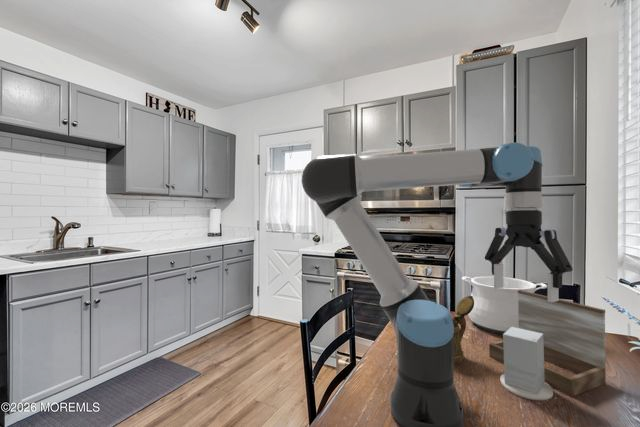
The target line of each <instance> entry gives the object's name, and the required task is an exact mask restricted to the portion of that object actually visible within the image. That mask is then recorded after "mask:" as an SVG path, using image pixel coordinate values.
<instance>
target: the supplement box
mask: <svg viewBox="0 0 640 427" xmlns="http://www.w3.org/2000/svg"><path fill="white" fill-rule="evenodd" d="M502 338H503V339H502V340H503V343H504V363H503V374H504V379H505V384H509V385H511V386H514V387H517V388H520V389H523V390H526V391H529V392H532V393H534V394H537V395H538V394H539V392H540V391H541V389H542V387H543V385H544V383H545V379H544V366H545V360H544V341H543V334H542V333H538V332H533V331H529V330H524V329H520V328H515V327H511V328H510V329H509V330H507V331H506V332H505V333H504V334H502Z"/></svg>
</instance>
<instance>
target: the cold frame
mask: <svg viewBox="0 0 640 427" xmlns="http://www.w3.org/2000/svg"><path fill="white" fill-rule="evenodd" d="M518 321H519V328H520V329H524V330H529V331H533V332H538V333H542V334H543V341H544V361H546V362H549V363H550V364H554V365H556V366H558V367H561V368H563V369H566V370H568V371H570V372H572V373H575V374H574V375H572V376H569V375H567V374H564V373H561V372H559V371H556V370H555V369H552V368H550V367H547V366H545V365H544V379H545V382H546V383H547V384H549V385H550V386H551V388H552V389H555V390H557V391H558V392H561V393H563V394H566V395H568V396H569V397H575V396H577V395H580V394H583V393H585V392H588V391H591V390H593V389H596V388H597V387H601V386H602V385H605V384H607V383H606V380H607V378H606V377H607V376H606V375H607V373H606V309H603V308H599V307H595V306H590V305H586V304H582V303H577V302H572V301H569V300H564V299H560V298H559V301H556V302H548V295H543V294H539V293H535V292H534V293H531V292H526V291H522V290H518ZM488 348H489V350H488V351H489V358H491V359H493V360H496V361H497V362H500V363H502V364H504V343H503V339H502V340H499V341H495V342H490V343H489V345H488Z"/></svg>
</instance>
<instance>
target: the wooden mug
mask: <svg viewBox="0 0 640 427" xmlns="http://www.w3.org/2000/svg"><path fill="white" fill-rule="evenodd" d="M473 307H474V299H473V297H472V296H471V295H467V296H465V297H463V298H462V299H460V300H459V302H458V303H457V306H456V314H455V315H454V316H453V317H452V319H453V325H454V335H453V357H454V364H457V363H461V362H462V361H464V359H465V355H464V351H463V349H462V338H464V337H463V336H464V334H465V332H466V328H467V321H466V318H465V316H469V315H468V314H469V313H470V312H471V311H472V309H473Z"/></svg>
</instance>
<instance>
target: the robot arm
mask: <svg viewBox="0 0 640 427" xmlns="http://www.w3.org/2000/svg"><path fill="white" fill-rule="evenodd" d="M542 158H543V157H542V152H541V149H540V148H539V146H538V147H537V146H533V145H532V146H531V145H527V146H526V145H525V144H523V143H520V142H510V143H504V144H502V145H500V146H496V147H494V146H493V147H485V148H483V147H482V148H471V149H470V148H469V149H461V150H447V151H435V152H432V151H431V152H422V153H421V152H420V153H409V154H397V155H386V156H373V157H372V156H371V157H360V156H359V155H358V154H357V153H353V154H335V155H332V154H331V155H320V156H318V157H315V158H314V159H312V160H310V161H309V162H308V163H307V164H306V165H305V167H304V168H303V171H302V174H301V185H302V188H303V191H304V192H305V194H306V195H307V196H308V198H310V199H311V200H312V201H314V202H315V203H316V205H317V206H318V208H319V209H320V211H321V212H322V214H323V216H324V217H325V218H326V219H328V220H332V221H334V223H335V224H336V226H337V227H338V230H340V233H341V234H342V235H343V237H344V239H345V240H346V242H347V243H348V245H349V246H350V247H349V248H351V250H352V251H353V253H354V255H355V256H356V258H357V260H358V262H360V264H361V266H362V268H364V271H365V272H366V274H367V275H368V276H369V278H370V280H371V282H372V283H373V285H374V286H375V288H376V290H377V291H378V293H379V295H380V300H379V305H380V307H381V308H382V311H384V313H385V315H386V316H387V318H388V319H389V321H390V323H391V324H392V327H393V329H394V333H395V338H396V342H397V345H396V346H397V376H396V379H395V383H394V385H393V390H392V392H391V395H390V400H389V401H390V402H389V403H390V404H389V405H390V407H389V410H390V413H391V416H392V417H393V419H394V420H395V422H397V424H398V425H400V426H401V427H464V410H463V405H462V403H461V402H460V397H459V394H458V391H457V388H456V386H455V380H454V379H455V376H454V374H455V373H454V372H455V370H454V364H455V363H454V357H453V335H454V325H453V316H452V313H451V311H450V310H449V309H448V308H446V307H445V306H444V305H443V304H441V303H439V304H438V303H436V302H435V301H431V300H430V299H429V298H428V295H427V294H426V293H425V291H424V290H423V288H422V286H420V284H419V282H418V281H416V280H414V279H410V278H409V277H408V276H407V273H406V272H405V270H404V268H402V266H401V265H400V263H399V261H398V260H397V258H396V257H395V255H394V254H393V252H392V250H391V249H390V247H389V246H388V244H387V242H386V241H385V240H384V238H383V236H382V235H381V233H380V232H379V230H378V229H377V227H376V225H375V224H374V222H373V221H372V219H371V218H370V216H369V215H368V213H367V211H366V210H365V208H364V207H363V205H362V204H361V202H362V198H363V194H362V193H363V192H374V191H389V190H391V191H392V190H402V189H403V190H405V189H416V188H417V189H420V188H421V189H422V188H429V187H430V188H431V187H447V186H458V187H461V188H464V187H465V188H470V189H471V188H480V187H481V188H483V187H487V188H488V187H489V188H490V187H505V209H508V210H506V212H505V224H506V226H507V227H496V228H494V230H495V231H494V236H493V238H492V241H491V242H490V245H489V248H487V251H486V253H485V255H484V260H485V261H488V262H489V263H491V275H492V276H494V288H496V289H497V288H504V286H503V277H504V263H502V262H503V260H504V258H506V256H507V255H508V254H509V253H510V252H511V251H512V250H513V248H514V247H522V248H530V249H531V250H533V251H534V252H535V253H536V255H537V256H538V257H539V259H541V261H542V262H543V263H544V265H545V266H546V267H547V268H548V270H549V271H550V272H547V296H548V302H556V301H559V299H560V298H559V293H560V292H559V289H561V288H562V287H563V275H564V274H565V273H570V272H572V271H573V269H574V268H573V267H572V265H571V263H570V261H569V259H568V257H567V256H566V253H565V252H564V250H563V248H562V246H561V243H559V241H558V236H557V234H558V233H557V231H556V230H555V229H545V230H542V228H541V227H542V224H543V221H542V220H543V212H542V210H540V209H541V208H542V205H543V204H542V200H543V199H542V198H543V196H542V195H543V194H542V188H543V187H542V186H543V185H542V182H543V181H542V180H543V178H542V177H543V176H542V172H543V169H542V167H543V162H542V161H543V160H542ZM506 236H507V239H506V240H505V237H506ZM541 238H543V240H544V241H545V243H546V246H547V248H548V249H547V248H546V247H545V244H544V243H543V241H542V240H541ZM504 240H505V241H504ZM502 244H503V245H502ZM548 250H549V251H550V252H549V251H548Z"/></svg>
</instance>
